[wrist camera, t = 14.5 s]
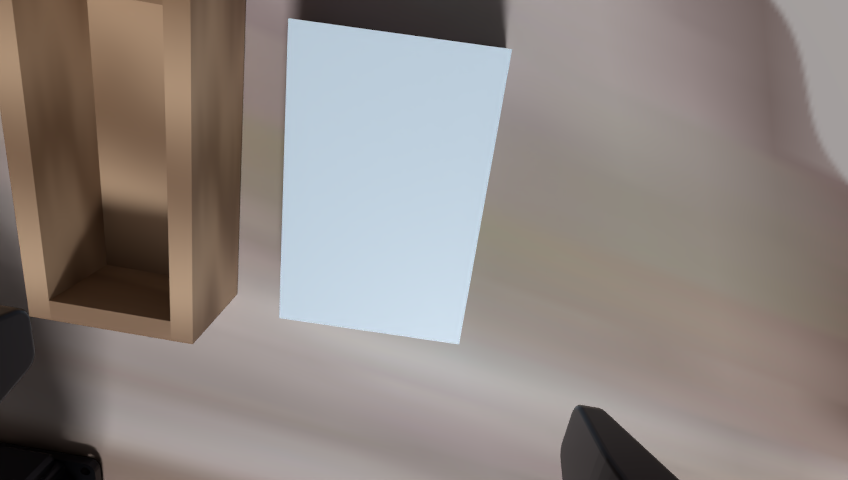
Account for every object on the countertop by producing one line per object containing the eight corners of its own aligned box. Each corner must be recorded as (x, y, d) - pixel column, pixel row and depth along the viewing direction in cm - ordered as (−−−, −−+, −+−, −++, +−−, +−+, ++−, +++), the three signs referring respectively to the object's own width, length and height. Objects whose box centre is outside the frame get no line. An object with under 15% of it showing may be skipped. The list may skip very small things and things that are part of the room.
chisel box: (237, 294, 22) (114, 431, 14) (101, 270, 22) (-98, 396, 14) (250, -154, 16) (52, -349, 8) (65, -186, 16) (-311, -412, 8)
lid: (458, 313, 22) (458, 344, 20) (297, 289, 22) (279, 318, 20) (505, 49, 18) (511, 49, 16) (309, 22, 18) (288, 18, 16)
